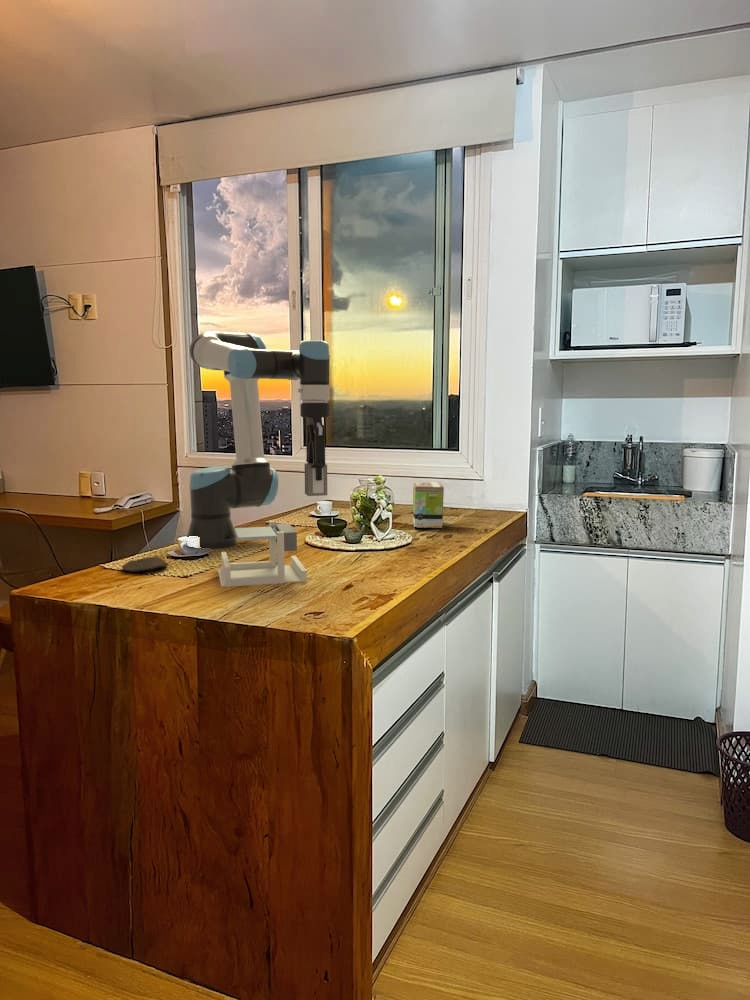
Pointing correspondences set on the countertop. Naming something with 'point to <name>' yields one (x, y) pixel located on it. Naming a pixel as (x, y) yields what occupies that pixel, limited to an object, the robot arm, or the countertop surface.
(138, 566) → the rock
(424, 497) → the tea box
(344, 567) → the countertop surface
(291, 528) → the trapdoor
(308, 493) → the gray rectangular block
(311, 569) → the countertop surface
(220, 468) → the robot arm
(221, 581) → the frame
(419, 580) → the countertop surface
